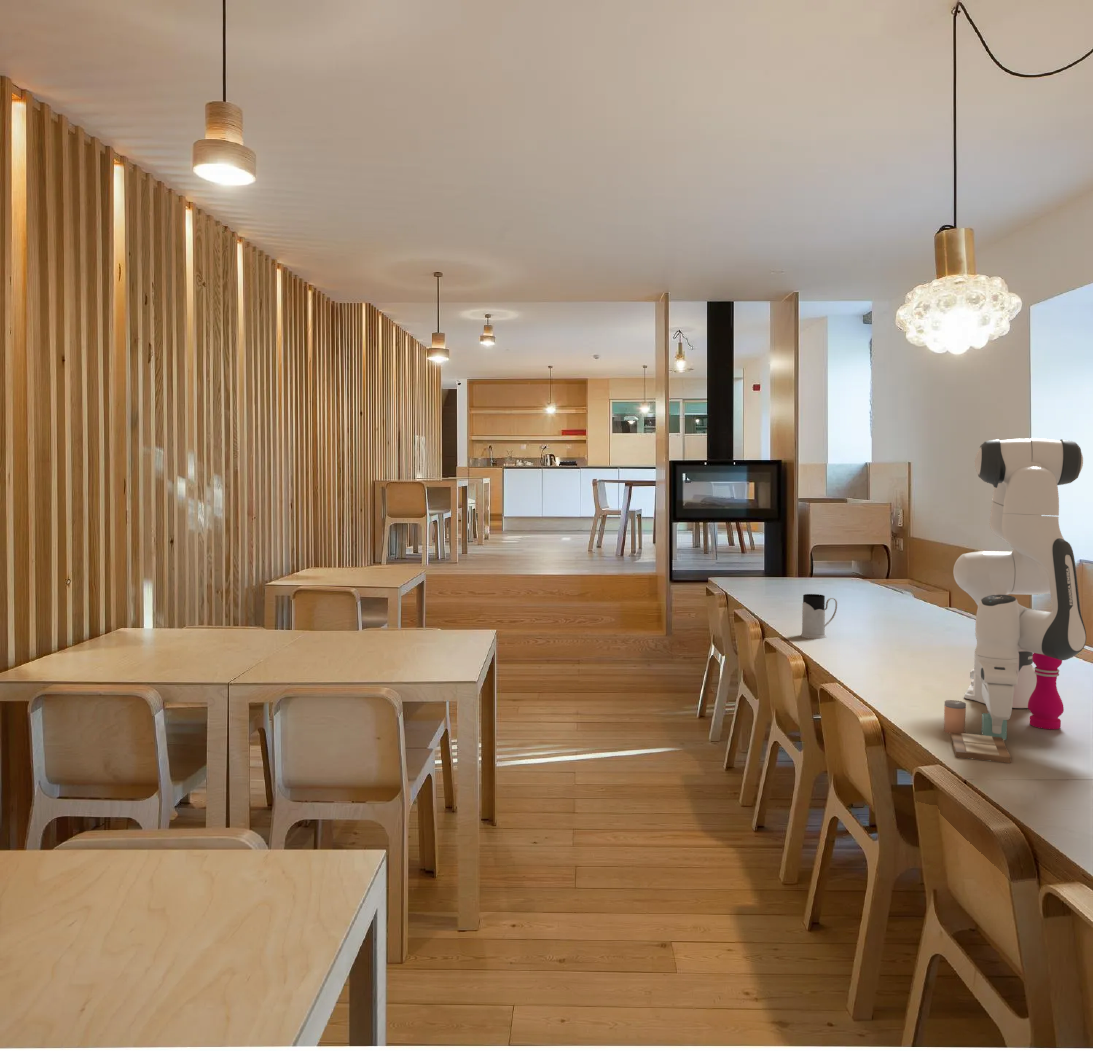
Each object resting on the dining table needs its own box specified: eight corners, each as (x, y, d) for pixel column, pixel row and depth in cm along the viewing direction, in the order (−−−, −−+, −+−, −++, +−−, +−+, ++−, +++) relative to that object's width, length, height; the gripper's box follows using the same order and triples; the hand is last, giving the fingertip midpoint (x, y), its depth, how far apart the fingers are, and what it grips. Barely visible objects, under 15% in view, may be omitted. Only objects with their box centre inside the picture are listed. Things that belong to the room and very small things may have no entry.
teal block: (981, 732, 192) (982, 713, 192) (1003, 734, 190) (1004, 715, 190) (983, 738, 188) (984, 718, 188) (1006, 740, 186) (1007, 720, 186)
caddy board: (951, 737, 188) (951, 731, 188) (1001, 742, 184) (1001, 736, 184) (955, 757, 175) (956, 750, 175) (1010, 763, 171) (1010, 756, 171)
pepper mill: (1030, 719, 202) (1032, 636, 200) (1065, 724, 197) (1068, 640, 196) (1024, 726, 196) (1027, 641, 195) (1060, 732, 192) (1063, 645, 190)
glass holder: (795, 634, 309) (796, 594, 308) (828, 632, 313) (829, 592, 312) (810, 639, 300) (810, 597, 300) (843, 636, 305) (844, 595, 304)
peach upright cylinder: (943, 728, 195) (943, 699, 194) (964, 730, 193) (965, 701, 193) (944, 733, 191) (945, 704, 190) (965, 735, 189) (966, 706, 189)
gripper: (975, 657, 199) (974, 715, 200) (985, 676, 180) (983, 740, 181) (1005, 659, 197) (1004, 717, 197) (1018, 679, 178) (1017, 743, 178)
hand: (994, 728), depth 189 cm, fingers open, 5 cm apart
